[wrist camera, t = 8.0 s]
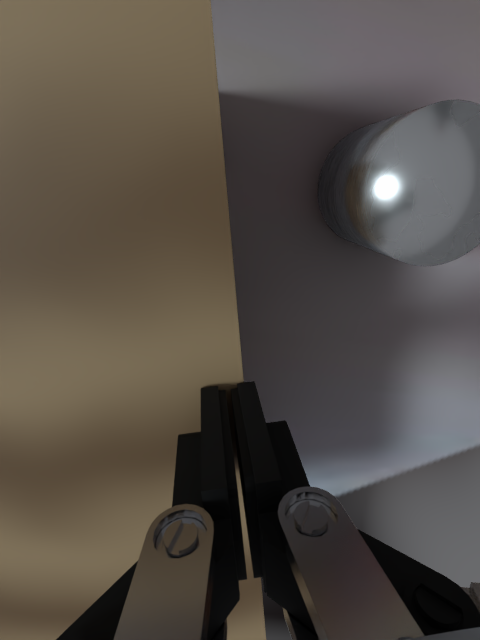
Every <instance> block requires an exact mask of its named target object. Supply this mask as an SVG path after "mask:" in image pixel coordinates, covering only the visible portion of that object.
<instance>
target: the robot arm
mask: <svg viewBox="0 0 480 640" xmlns="http://www.w3.org/2000/svg"><path fill="white" fill-rule="evenodd" d="M231 399H232V408H233V418H234V428H235V438H236V448H237V458H238V467H239V474H240V481H241V489H242V496H243V503H244V510H245V518H246V525H247V532H248V539H249V547H250V554H251V561H252V569H253V576H254V578H259V577H262V579H263V585H264V591H265V592H267V596H269V597H270V598H271V599H272V600H274V601H275V602H276V603H278V604H279V605H280V606H281V607H283V611H284V616H285V620H286V623H287V626H288V629H289V632H290V635H291V638H292V640H480V583H473V582H471V584H470V588H464V587H460V586H459V585H457V584H456V583H454V582H453V581H451V580H450V579H448V578H447V577H445V576H444V575H442V574H440V573H438V572H436V571H434V570H432V569H431V568H429V567H427V566H425V565H423V564H421V563H420V562H417V561H416V560H414V559H412V558H410V557H408V556H407V555H405V554H403V553H401V552H399V551H397V550H395V549H393V548H392V547H390V546H388V545H386V544H384V543H382V542H381V541H379V540H377V539H375V538H373V537H371V536H369V535H368V534H366V533H364V532H362V531H360V530H358V529H357V528H356V527H355V525H354V524H353V522H352V520H351V519H350V517H349V516H348V514H347V513H346V511H345V510H344V508H343V506H342V505H341V503H340V502H339V501H338V500H337V499H336V497H335V496H333V495H332V494H330V493H329V492H327V491H325V490H323V489H320V488H317V487H310V485H309V482H308V480H307V477H306V474H305V471H304V469H303V466H302V463H301V460H300V458H299V455H298V452H297V449H296V447H295V444H294V441H293V438H292V436H291V433H290V430H289V427H288V425H287V422H286V421H278V422H271V423H266V422H265V418H264V415H263V411H262V407H261V404H260V400H259V397H258V393H257V389H256V386H255V382H246V383H237V388H235V389H231ZM246 579H247V573H246V563H245V554H244V544H243V535H242V525H241V516H240V506H239V497H238V488H237V479H236V471H235V463H234V455H233V447H232V439H231V431H230V423H229V414H228V406H227V398H226V390H218V386H213V387H205V388H201V432H194V433H186V434H179V435H178V441H177V453H176V465H175V476H174V488H173V500H172V507H171V508H169V509H167V510H165V511H164V512H162V513H161V514H160V515H158V516H157V517H156V519H155V520H154V521H153V522H152V523H151V525H150V527H149V529H148V531H147V534H146V537H145V540H144V543H143V547H142V550H141V553H140V556H139V559H138V561H137V562H136V563H135V564H134V565H133V566H132V567H131V568H130V569H129V570H127V571H126V572H125V573H124V574H123V575H122V576H121V577H120V578H119V579H118V580H117V581H116V582H115V583H114V584H113V585H112V586H111V587H110V588H109V589H108V590H107V591H106V592H105V593H104V594H103V595H102V596H101V597H100V598H98V599H97V600H96V601H95V602H94V603H93V604H92V605H91V606H90V607H89V608H88V609H87V610H86V611H85V612H84V613H83V614H82V615H81V616H80V617H79V618H78V619H77V620H76V621H75V622H74V623H73V624H72V625H71V626H69V627H68V628H67V629H66V630H65V631H64V632H63V633H62V634H61V635H60V636H59V637H58V638H57V639H56V640H227V629H228V626H227V617H228V616H229V614H230V613H231V611H232V610H233V609H234V607H235V606H236V604H237V603H238V602H239V600H240V591H239V581H240V580H246Z"/></svg>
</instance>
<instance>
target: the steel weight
mask: <svg viewBox="0 0 480 640" xmlns="http://www.w3.org/2000/svg"><path fill="white" fill-rule="evenodd" d="M318 202H319V207H320V210H321V213H322V216H323V218H324V220H325V221H326V223H327V224H328V226H329V227H330V228H331V229H332V230H333V231H334V232H335V233H336V234H337V235H339V236H340V237H342V238H343V239H346V240H348V241H351V242H353V243H356V244H358V245H361V246H363V247H366V248H368V249H371V250H374V251H376V252H379V253H381V254H384V255H386V256H389V257H391V258H394V259H396V260H399V261H402V262H404V263H407V264H411V265H416V266H434V265H440V264H444V263H447V262H450V261H453V260H455V259H457V258H459V257H461V256H463V255H465V254H466V253H468V252H469V251H471V250H472V249H473V248H475V247H476V246H477V245H478V244H479V243H480V105H479V104H477V103H474V102H470V101H465V100H447V101H441V102H437V103H434V104H431V105H428V106H425V107H422V108H419V109H416V110H413V111H410V112H407V113H404V114H401V115H398V116H395V117H392V118H389V119H386V120H383V121H380V122H377V123H374V124H371V125H368V126H365V127H362V128H360V129H357V130H355V131H353V132H352V133H350V134H348V135H347V136H346V137H344V138H343V139H342V140H341V141H340V142H339V143H338V144H337V145H336V146H335V147H334V148H333V150H332V151H331V152H330V154H329V155H328V157H327V159H326V160H325V163H324V165H323V167H322V170H321V173H320V177H319V182H318Z"/></svg>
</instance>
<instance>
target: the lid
mask: <svg viewBox="0 0 480 640" xmlns="http://www.w3.org/2000/svg"><path fill="white" fill-rule="evenodd" d="M237 383H244V381H243V369H242V358H241V346H240V335H239V323H238V312H237V300H236V289H235V277H234V266H233V254H232V243H231V231H230V220H229V208H228V197H227V185H226V174H225V162H224V151H223V139H222V128H221V116H220V105H219V93H218V82H217V70H216V59H215V48H214V36H213V25H212V13H211V2H210V0H0V640H56V639H57V638H58V637H59V636H60V635H61V634H62V633H63V632H64V631H65V630H66V629H67V628H68V627H69V626H71V625H72V624H73V623H74V622H75V621H76V620H77V619H78V618H79V617H80V616H81V615H82V614H83V613H84V612H85V611H86V610H87V609H88V608H89V607H90V606H91V605H92V604H93V603H94V602H95V601H96V600H97V599H98V598H100V597H101V596H102V595H103V594H104V593H105V592H106V591H107V590H108V589H109V588H110V587H111V586H112V585H113V584H114V583H115V582H116V581H117V580H118V579H119V578H120V577H121V576H122V575H123V574H124V573H125V572H126V571H127V570H129V569H130V568H131V567H132V566H133V565H134V564H135V563H136V562H137V561H138V559H139V556H140V553H141V550H142V547H143V543H144V540H145V537H146V534H147V531H148V529H149V527H150V525H151V523H152V522H153V521H154V520H155V519H156V517H157V516H158V515H160V514H161V513H162V512H164V511H165V510H167V509H169V508H171V507H172V500H173V488H174V476H175V465H176V453H177V441H178V435H179V434H186V433H194V432H201V388H205V387H213V386H218V390H226V398H227V406H228V414H229V423H230V431H231V439H232V447H233V455H234V463H235V471H236V479H237V488H238V497H239V506H240V516H241V525H242V535H243V544H244V554H245V563H246V573H247V579H246V580H240V581H239V591H240V600H239V602H238V603H237V604H236V606H235V607H234V609H233V610H232V611H231V613H230V614H229V616H228V617H227V626H228V629H227V640H266V634H265V622H264V610H263V599H262V587H261V577H259V578H254V576H253V569H252V561H251V554H250V547H249V539H248V532H247V525H246V518H245V510H244V503H243V496H242V489H241V481H240V474H239V467H238V458H237V448H236V438H235V428H234V418H233V408H232V399H231V389H235V388H237Z"/></svg>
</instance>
